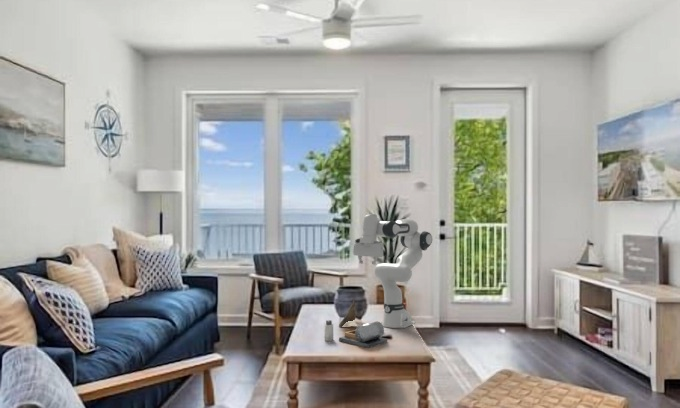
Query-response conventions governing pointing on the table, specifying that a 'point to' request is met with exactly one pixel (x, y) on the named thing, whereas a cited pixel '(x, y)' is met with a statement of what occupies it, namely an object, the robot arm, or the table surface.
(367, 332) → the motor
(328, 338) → the white capped bottle
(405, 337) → the table surface
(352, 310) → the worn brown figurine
